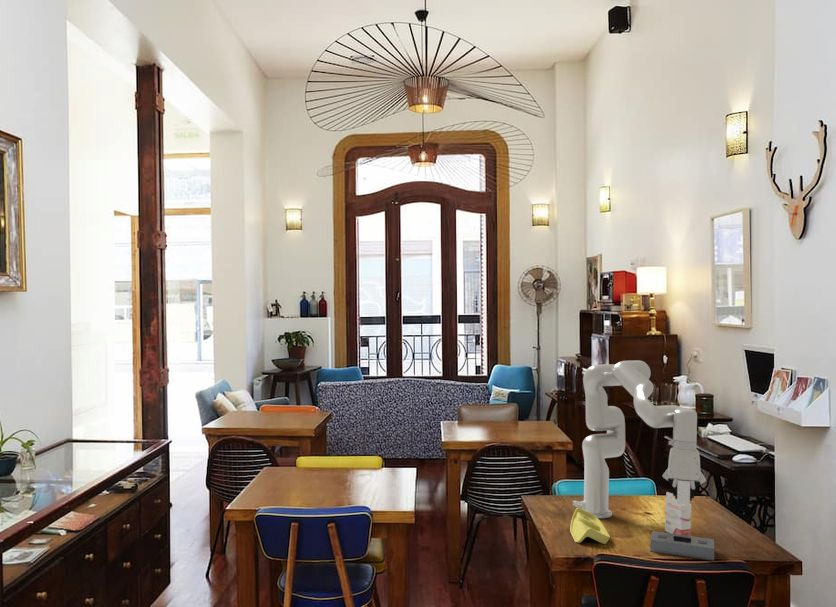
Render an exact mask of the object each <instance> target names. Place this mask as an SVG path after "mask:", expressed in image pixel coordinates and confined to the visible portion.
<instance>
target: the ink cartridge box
mask: <svg viewBox="0 0 836 607" xmlns="http://www.w3.org/2000/svg"><path fill="white" fill-rule="evenodd" d="M665 493H666V494H665V495H666V496H665V506H664V507H665V508H664V509H665V510H664V513H665V514H664V515H665V516H664V517H665V518H664V531H665V533H671V534H679V535H686V536H692V504H691V503H690V505H683V504H677V499H675V496H673V492H672V493H671V492H669V491H666V492H665Z"/></svg>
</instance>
